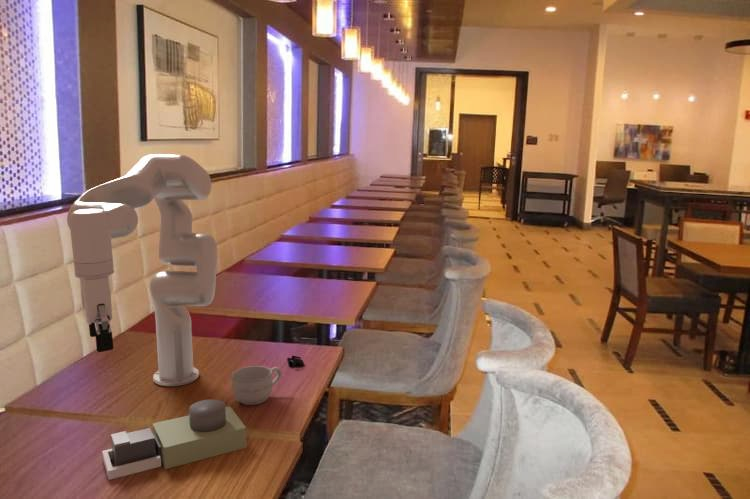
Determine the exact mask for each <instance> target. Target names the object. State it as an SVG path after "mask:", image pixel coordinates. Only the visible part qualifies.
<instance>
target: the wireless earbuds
mask: <svg viewBox="0 0 750 499" xmlns="http://www.w3.org/2000/svg"><path fill="white" fill-rule="evenodd" d="M286 360H287V363H288V366H289V367H290V368H292V367H293V366H294V367H296V366H297V367H303V366H304V360H302V357H300V356H296V355H291V357H287V358H286Z"/></svg>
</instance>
